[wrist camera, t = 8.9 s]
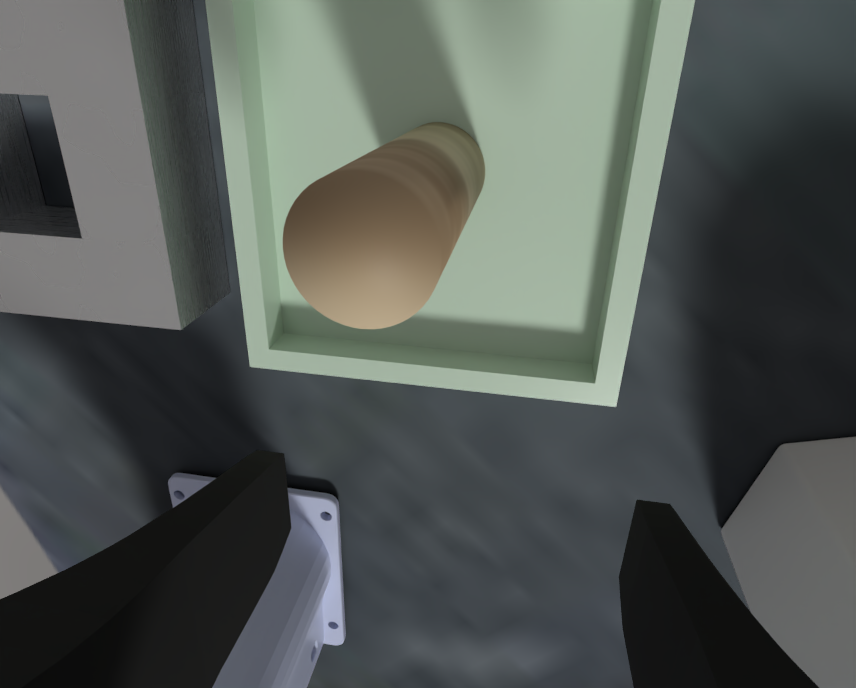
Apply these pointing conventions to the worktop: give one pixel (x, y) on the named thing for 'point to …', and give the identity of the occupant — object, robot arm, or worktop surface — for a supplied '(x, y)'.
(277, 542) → the robot arm
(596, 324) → the tray
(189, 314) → the socket block
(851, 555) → the jar
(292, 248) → the pin
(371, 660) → the worktop surface
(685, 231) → the worktop surface
